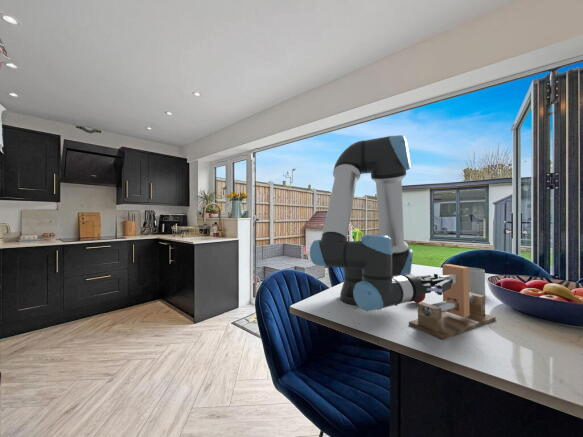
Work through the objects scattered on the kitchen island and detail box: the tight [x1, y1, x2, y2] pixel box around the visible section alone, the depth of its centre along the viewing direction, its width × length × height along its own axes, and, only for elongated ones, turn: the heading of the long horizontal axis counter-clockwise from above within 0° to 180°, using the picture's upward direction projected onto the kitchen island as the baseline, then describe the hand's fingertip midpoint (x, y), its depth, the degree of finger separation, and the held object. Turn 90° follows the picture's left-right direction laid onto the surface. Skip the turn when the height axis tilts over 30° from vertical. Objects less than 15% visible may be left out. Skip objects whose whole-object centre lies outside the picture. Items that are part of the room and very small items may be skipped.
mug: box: [469, 267, 486, 297], centre depth 110 cm, size 12×8×11 cm
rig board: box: [408, 292, 497, 341], centre depth 80 cm, size 28×11×8 cm, turn 116°
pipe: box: [422, 295, 476, 317], centre depth 80 cm, size 26×3×3 cm, turn 116°
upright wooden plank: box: [442, 263, 470, 318], centre depth 81 cm, size 3×7×16 cm, turn 26°
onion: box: [413, 294, 426, 304], centre depth 98 cm, size 6×6×8 cm
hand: (453, 278), depth 79 cm, fingers closed
